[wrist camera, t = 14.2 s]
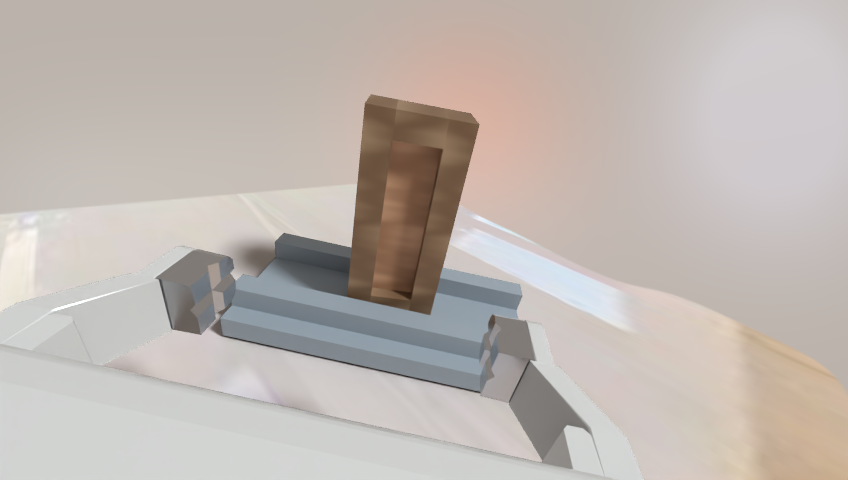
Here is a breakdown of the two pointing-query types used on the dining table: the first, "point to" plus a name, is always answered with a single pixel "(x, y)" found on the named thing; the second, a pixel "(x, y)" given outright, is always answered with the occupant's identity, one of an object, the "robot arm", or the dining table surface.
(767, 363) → the dining table surface
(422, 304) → the frame
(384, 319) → the picture stand
